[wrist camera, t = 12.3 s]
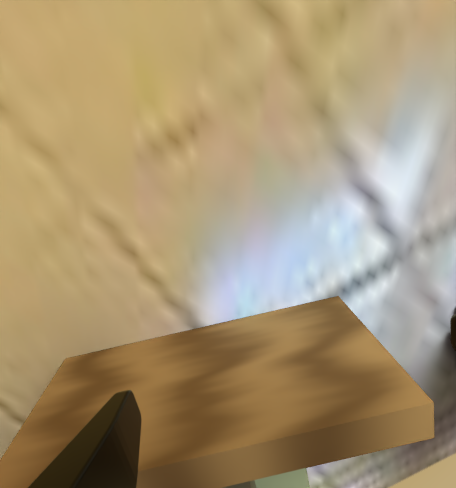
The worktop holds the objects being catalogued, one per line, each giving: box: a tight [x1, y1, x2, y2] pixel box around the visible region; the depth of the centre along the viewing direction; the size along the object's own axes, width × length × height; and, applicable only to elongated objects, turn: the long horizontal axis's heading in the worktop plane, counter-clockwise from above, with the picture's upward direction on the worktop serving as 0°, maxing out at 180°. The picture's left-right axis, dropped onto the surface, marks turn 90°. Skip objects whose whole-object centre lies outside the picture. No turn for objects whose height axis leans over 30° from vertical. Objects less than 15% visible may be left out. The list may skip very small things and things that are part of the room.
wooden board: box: [0, 296, 434, 488], centre depth 19 cm, size 20×7×10 cm, turn 102°
